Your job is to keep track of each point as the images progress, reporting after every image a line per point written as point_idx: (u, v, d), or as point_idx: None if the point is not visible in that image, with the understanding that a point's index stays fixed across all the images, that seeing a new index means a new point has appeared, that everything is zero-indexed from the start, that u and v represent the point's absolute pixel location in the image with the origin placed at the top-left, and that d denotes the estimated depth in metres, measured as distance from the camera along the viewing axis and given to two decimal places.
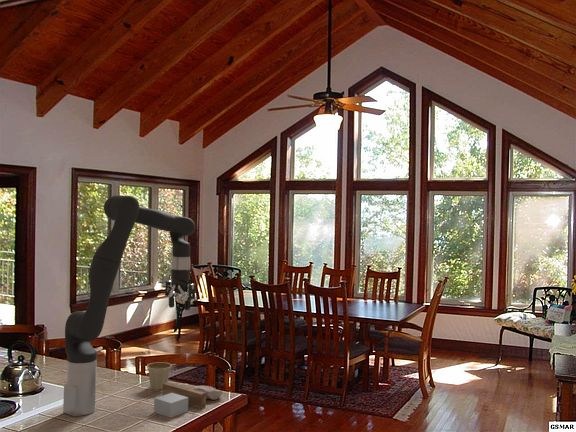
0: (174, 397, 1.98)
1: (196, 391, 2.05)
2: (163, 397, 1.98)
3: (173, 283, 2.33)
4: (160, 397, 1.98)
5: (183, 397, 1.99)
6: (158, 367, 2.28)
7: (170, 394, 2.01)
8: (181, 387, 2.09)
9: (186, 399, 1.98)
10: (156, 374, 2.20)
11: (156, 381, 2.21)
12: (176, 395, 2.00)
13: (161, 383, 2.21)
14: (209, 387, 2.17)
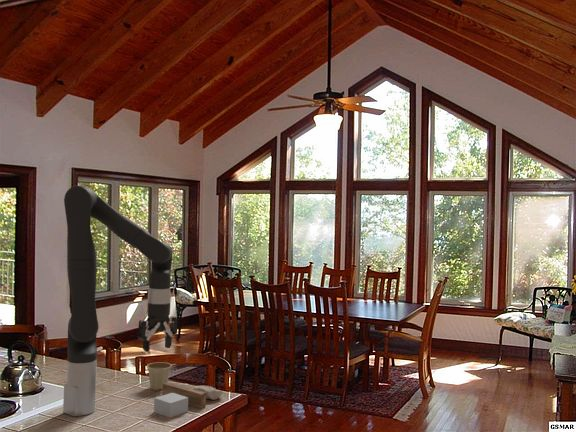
0: (174, 397, 1.98)
1: (196, 391, 2.05)
2: (163, 397, 1.98)
3: (153, 321, 1.94)
4: (160, 397, 1.98)
5: (183, 397, 1.99)
6: (158, 367, 2.28)
7: (170, 394, 2.01)
8: (181, 387, 2.09)
9: (186, 399, 1.98)
10: (156, 374, 2.20)
11: (156, 381, 2.21)
12: (176, 395, 2.00)
13: (161, 383, 2.21)
14: (209, 387, 2.17)
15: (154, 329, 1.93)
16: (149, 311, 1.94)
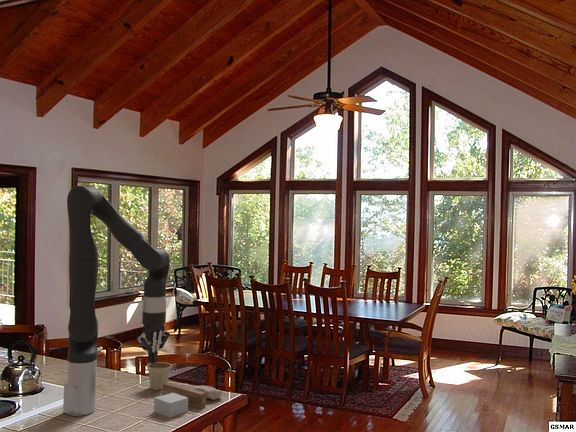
0: (174, 397, 1.98)
1: (196, 391, 2.05)
2: (163, 397, 1.98)
3: (150, 330, 1.88)
4: (160, 397, 1.98)
5: (183, 397, 1.98)
6: (158, 367, 2.28)
7: (171, 394, 2.01)
8: (181, 387, 2.09)
9: (186, 399, 1.98)
10: (156, 374, 2.20)
11: (156, 381, 2.21)
12: (176, 395, 2.00)
13: (161, 383, 2.21)
14: (209, 387, 2.17)
15: (154, 339, 1.89)
16: (145, 320, 1.87)
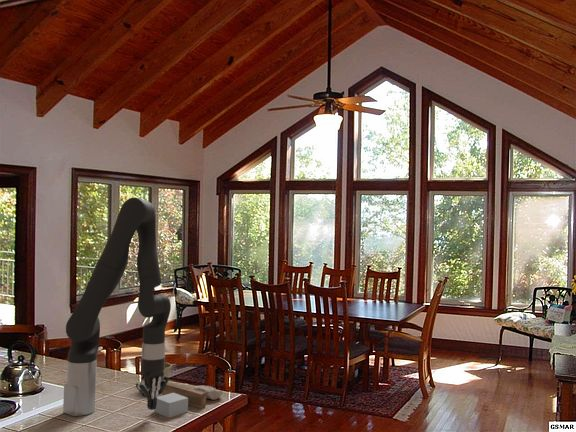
0: (174, 397, 1.98)
1: (196, 391, 2.05)
2: (163, 397, 1.98)
3: (149, 377, 1.88)
4: (160, 397, 1.98)
5: (183, 397, 1.98)
6: None
7: (171, 394, 2.01)
8: (181, 387, 2.09)
9: (186, 399, 1.98)
10: None
11: None
12: (177, 395, 2.00)
13: None
14: (209, 387, 2.17)
15: (153, 386, 1.89)
16: (144, 367, 1.88)
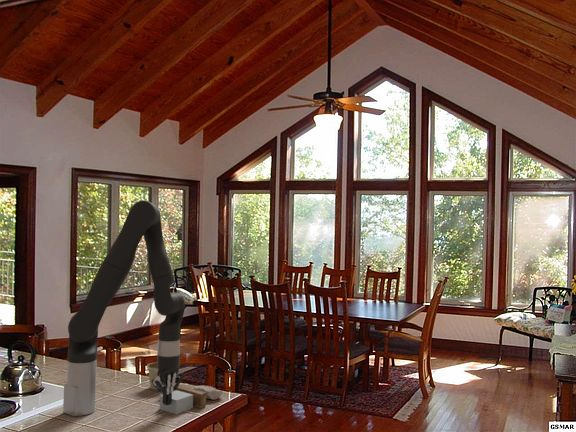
0: (179, 394, 2.02)
1: (196, 391, 2.05)
2: None
3: (164, 373, 1.93)
4: None
5: (188, 394, 2.02)
6: None
7: (175, 392, 2.05)
8: (181, 387, 2.09)
9: (191, 396, 2.02)
10: (156, 373, 2.20)
11: None
12: (181, 393, 2.04)
13: None
14: (209, 387, 2.17)
15: (168, 382, 1.94)
16: (160, 364, 1.93)
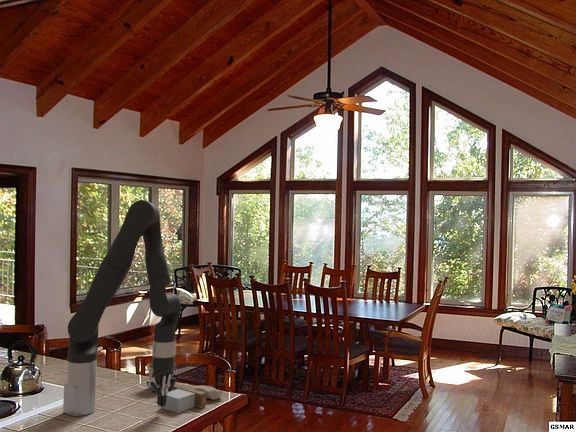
0: (181, 393, 2.03)
1: (196, 391, 2.05)
2: (170, 393, 2.03)
3: (159, 375, 1.92)
4: None
5: (190, 393, 2.03)
6: None
7: (177, 390, 2.06)
8: (181, 387, 2.09)
9: (193, 395, 2.03)
10: None
11: None
12: (183, 391, 2.05)
13: None
14: (209, 387, 2.17)
15: (163, 383, 1.93)
16: (155, 365, 1.92)
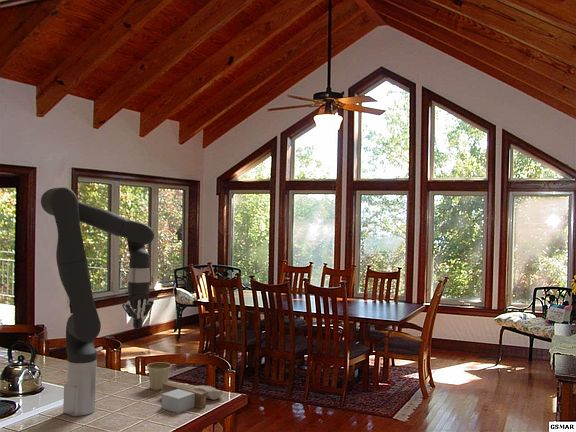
0: (181, 393, 2.03)
1: (196, 391, 2.05)
2: (170, 393, 2.03)
3: (134, 299, 2.07)
4: (167, 393, 2.03)
5: (190, 393, 2.03)
6: (158, 367, 2.28)
7: (177, 390, 2.06)
8: (181, 387, 2.09)
9: (193, 395, 2.03)
10: (156, 374, 2.20)
11: (156, 381, 2.21)
12: (183, 391, 2.05)
13: (161, 383, 2.21)
14: (209, 387, 2.17)
15: (138, 307, 2.08)
16: (130, 289, 2.07)
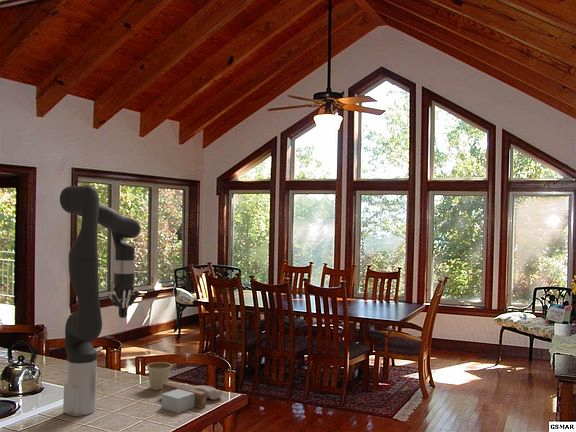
0: (181, 393, 2.03)
1: (196, 391, 2.05)
2: (170, 393, 2.03)
3: (120, 289, 2.19)
4: (167, 393, 2.03)
5: (190, 393, 2.03)
6: (158, 367, 2.28)
7: (177, 390, 2.06)
8: (181, 387, 2.09)
9: (193, 395, 2.03)
10: (156, 374, 2.20)
11: (156, 381, 2.21)
12: (183, 391, 2.05)
13: (161, 383, 2.21)
14: (209, 387, 2.17)
15: (123, 297, 2.19)
16: (116, 280, 2.18)
